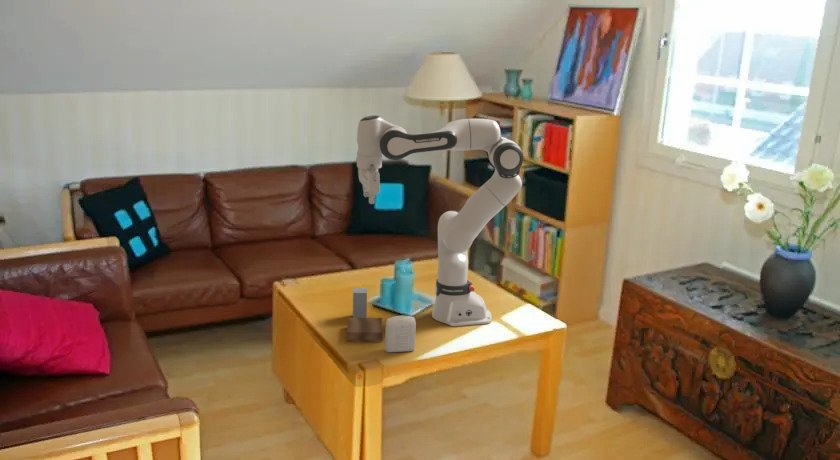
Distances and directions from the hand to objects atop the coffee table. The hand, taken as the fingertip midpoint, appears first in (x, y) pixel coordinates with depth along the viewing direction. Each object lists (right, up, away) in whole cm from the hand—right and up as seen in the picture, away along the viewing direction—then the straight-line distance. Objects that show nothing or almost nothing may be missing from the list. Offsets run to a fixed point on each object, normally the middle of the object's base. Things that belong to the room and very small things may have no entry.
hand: (368, 199), depth 260 cm
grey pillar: (-4, -43, +9) cm, 44 cm away
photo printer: (+12, -51, -15) cm, 55 cm away
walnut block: (-1, -48, -4) cm, 48 cm away
